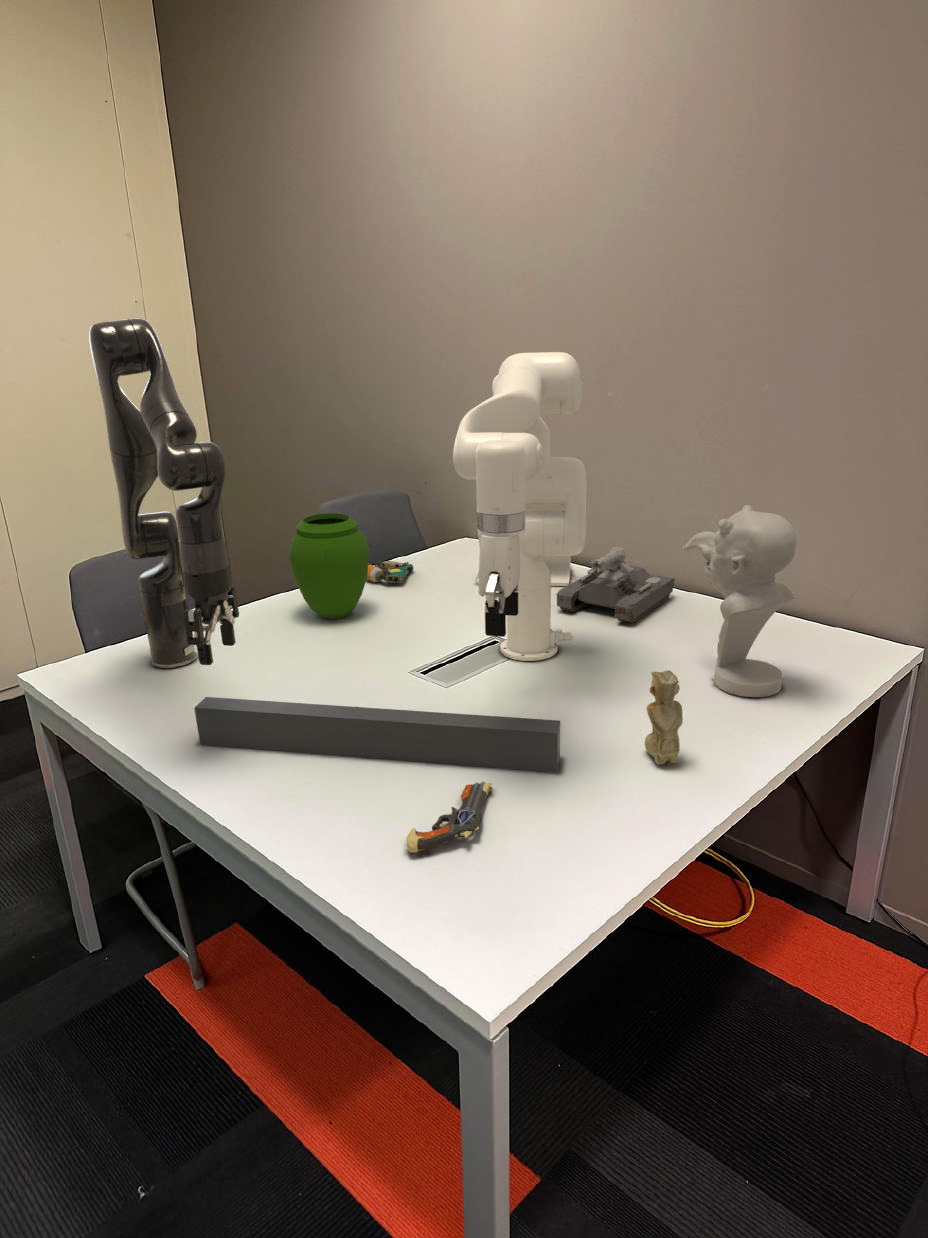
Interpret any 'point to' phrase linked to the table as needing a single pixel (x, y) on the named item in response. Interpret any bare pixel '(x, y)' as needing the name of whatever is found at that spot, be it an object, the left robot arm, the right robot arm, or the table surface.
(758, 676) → the bust sculpture
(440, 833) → the toy gun
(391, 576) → the spray gun
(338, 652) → the table surface
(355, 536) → the vase
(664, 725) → the sculpture
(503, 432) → the right robot arm
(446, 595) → the table surface
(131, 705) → the table surface
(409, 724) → the beam
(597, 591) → the toy
